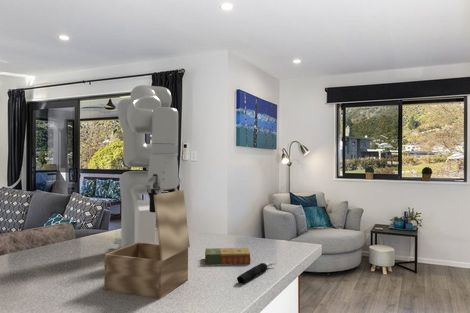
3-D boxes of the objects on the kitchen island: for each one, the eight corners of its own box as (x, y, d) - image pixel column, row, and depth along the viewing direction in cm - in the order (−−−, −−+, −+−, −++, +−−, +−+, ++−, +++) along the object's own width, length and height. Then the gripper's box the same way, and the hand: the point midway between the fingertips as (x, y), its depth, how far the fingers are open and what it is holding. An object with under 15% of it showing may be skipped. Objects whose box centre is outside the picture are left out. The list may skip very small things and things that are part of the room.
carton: (250, 265, 131) (250, 253, 131) (204, 265, 130) (204, 253, 130) (247, 258, 139) (248, 247, 139) (205, 259, 138) (205, 247, 138)
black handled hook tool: (266, 266, 129) (266, 257, 129) (277, 268, 127) (277, 259, 127) (235, 284, 110) (235, 274, 110) (247, 287, 108) (247, 276, 108)
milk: (155, 263, 131) (156, 200, 131) (138, 265, 128) (139, 201, 128) (150, 258, 136) (151, 198, 136) (133, 260, 133) (134, 199, 133)
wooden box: (104, 290, 104) (104, 254, 104) (137, 273, 119) (137, 242, 119) (160, 298, 98) (161, 261, 98) (187, 280, 113) (188, 247, 113)
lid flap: (153, 195, 99) (155, 194, 99) (181, 190, 114) (183, 190, 114) (161, 260, 98) (162, 260, 98) (188, 246, 113) (189, 246, 113)
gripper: (168, 150, 116) (167, 205, 116) (136, 149, 100) (135, 213, 100) (190, 151, 114) (189, 206, 114) (160, 150, 98) (159, 215, 98)
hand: (164, 209), depth 107 cm, fingers open, 9 cm apart
